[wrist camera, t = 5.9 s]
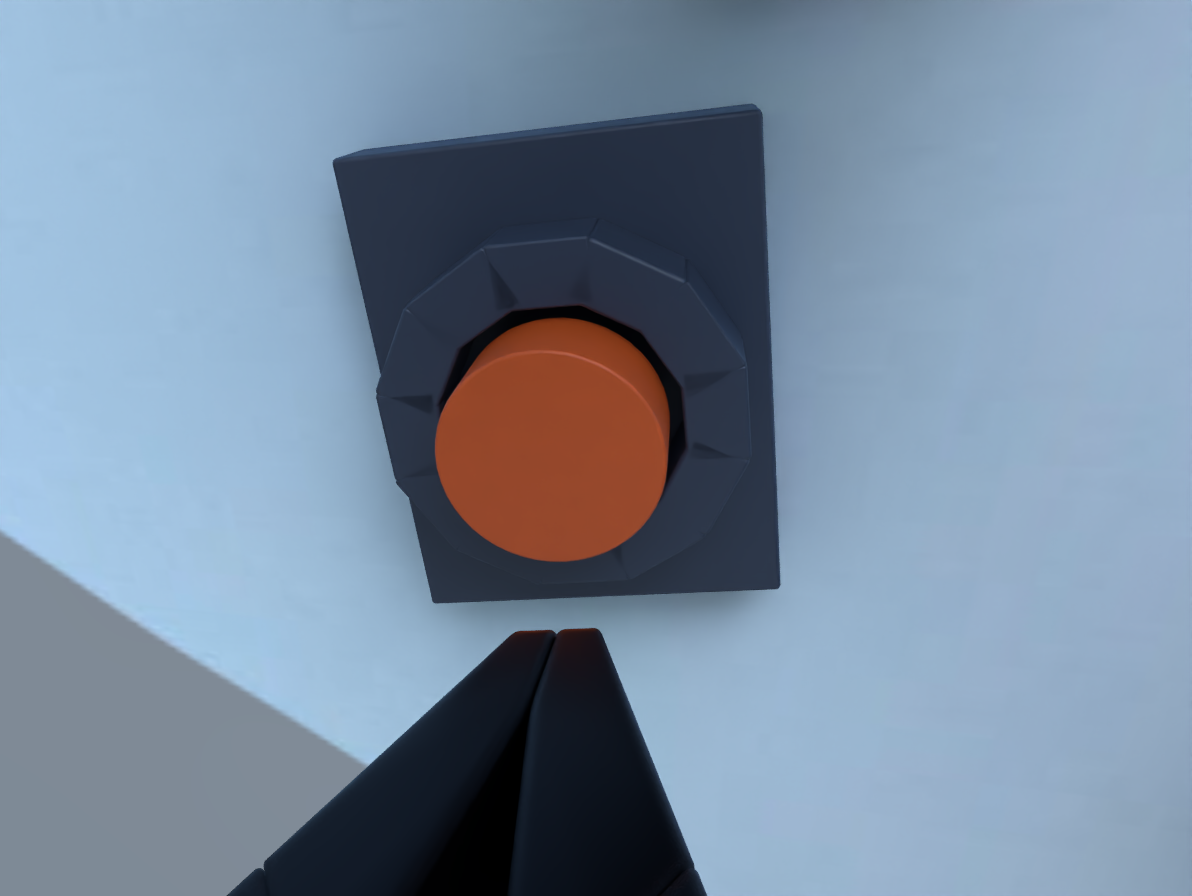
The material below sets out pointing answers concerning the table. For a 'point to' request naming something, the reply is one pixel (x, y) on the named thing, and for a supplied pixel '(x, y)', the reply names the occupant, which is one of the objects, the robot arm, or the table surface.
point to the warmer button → (555, 441)
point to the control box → (591, 293)
